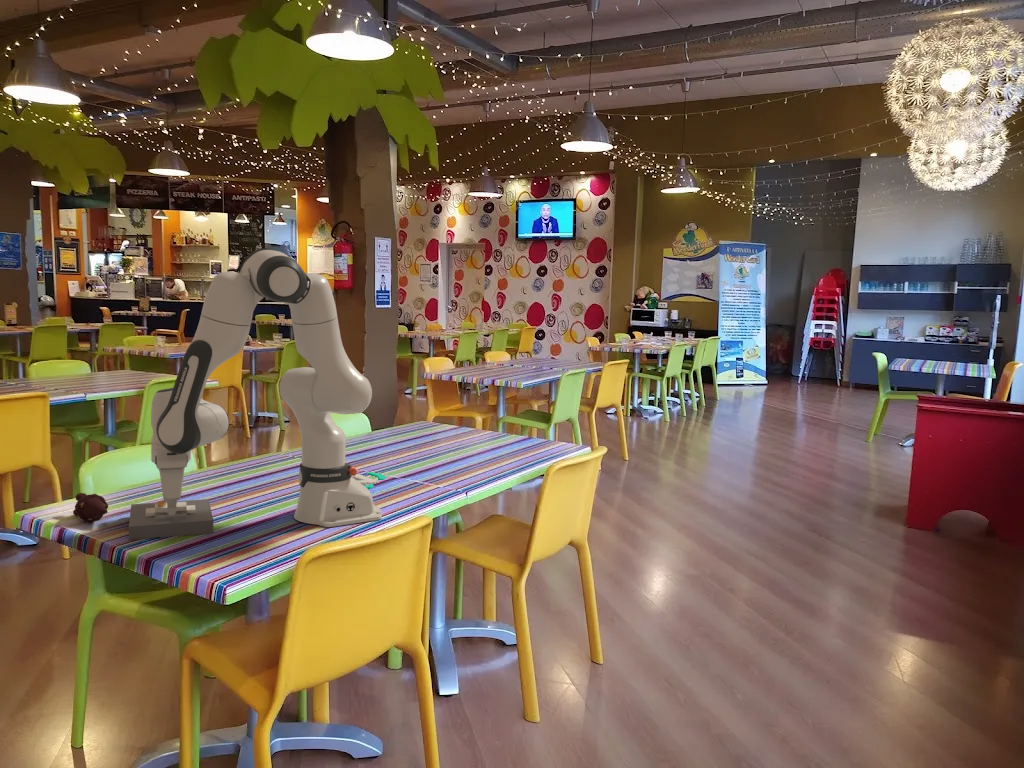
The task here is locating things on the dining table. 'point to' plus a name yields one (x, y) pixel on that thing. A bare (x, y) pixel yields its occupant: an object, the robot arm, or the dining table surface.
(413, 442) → the dining table surface
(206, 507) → the grey board with hole
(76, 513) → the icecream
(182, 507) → the servo
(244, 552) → the dining table surface
